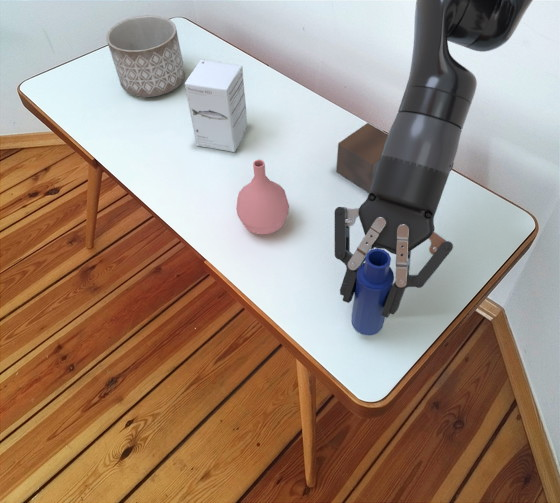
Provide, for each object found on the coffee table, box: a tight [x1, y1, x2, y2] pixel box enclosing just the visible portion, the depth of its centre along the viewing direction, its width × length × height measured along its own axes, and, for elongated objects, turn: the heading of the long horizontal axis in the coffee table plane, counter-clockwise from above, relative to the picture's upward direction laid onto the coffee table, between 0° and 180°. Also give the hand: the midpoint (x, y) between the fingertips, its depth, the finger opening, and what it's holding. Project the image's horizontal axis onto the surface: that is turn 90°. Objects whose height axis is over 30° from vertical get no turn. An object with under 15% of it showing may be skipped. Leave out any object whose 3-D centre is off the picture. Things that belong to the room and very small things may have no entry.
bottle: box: [350, 248, 395, 337], centre depth 60 cm, size 4×4×13 cm
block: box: [335, 122, 389, 194], centre depth 82 cm, size 7×7×6 cm
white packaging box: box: [184, 59, 248, 153], centre depth 86 cm, size 7×7×13 cm
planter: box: [105, 14, 186, 98], centre depth 98 cm, size 13×13×10 cm
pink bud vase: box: [235, 159, 290, 235], centre depth 73 cm, size 8×8×12 cm
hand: (366, 307), depth 59 cm, fingers closed on bottle, 4 cm apart
